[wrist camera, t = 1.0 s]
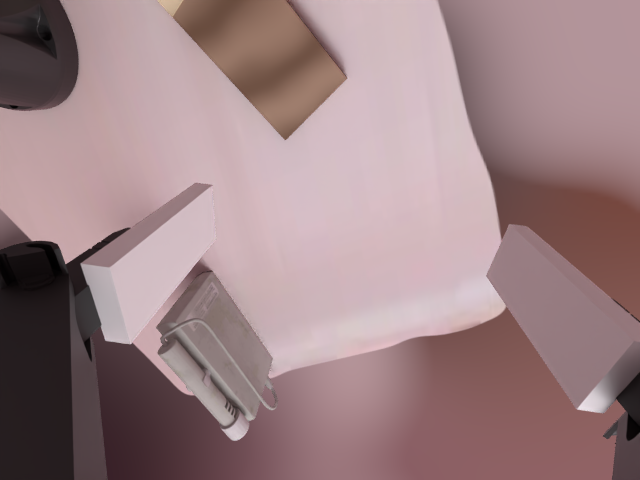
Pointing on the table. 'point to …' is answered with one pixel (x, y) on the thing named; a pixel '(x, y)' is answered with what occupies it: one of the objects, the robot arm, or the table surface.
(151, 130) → the table surface
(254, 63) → the plank
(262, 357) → the geiger counter
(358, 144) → the table surface
